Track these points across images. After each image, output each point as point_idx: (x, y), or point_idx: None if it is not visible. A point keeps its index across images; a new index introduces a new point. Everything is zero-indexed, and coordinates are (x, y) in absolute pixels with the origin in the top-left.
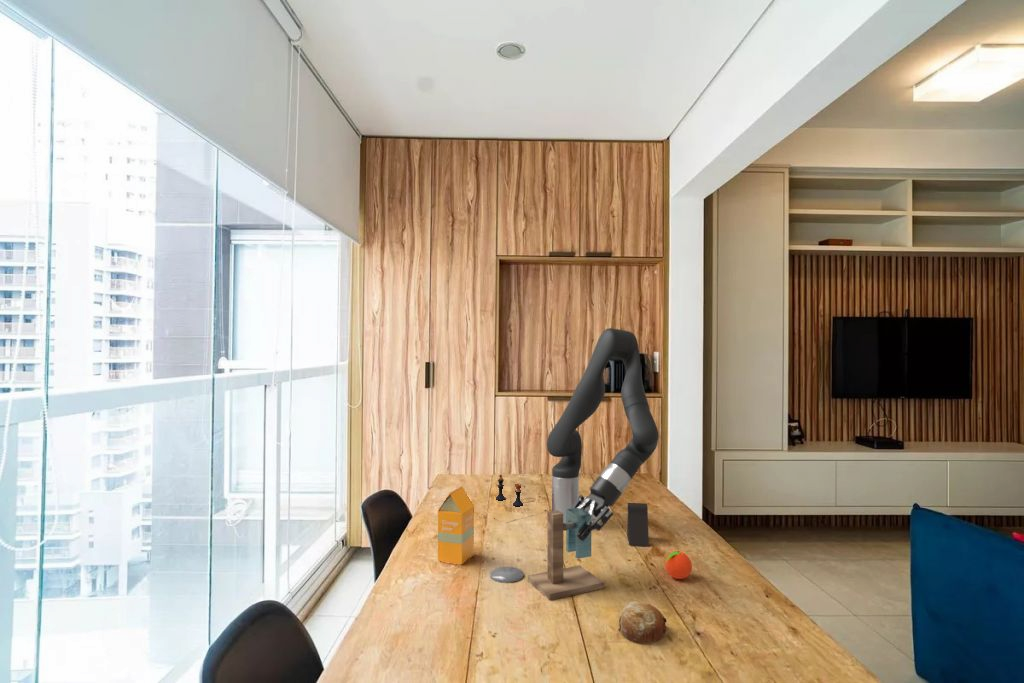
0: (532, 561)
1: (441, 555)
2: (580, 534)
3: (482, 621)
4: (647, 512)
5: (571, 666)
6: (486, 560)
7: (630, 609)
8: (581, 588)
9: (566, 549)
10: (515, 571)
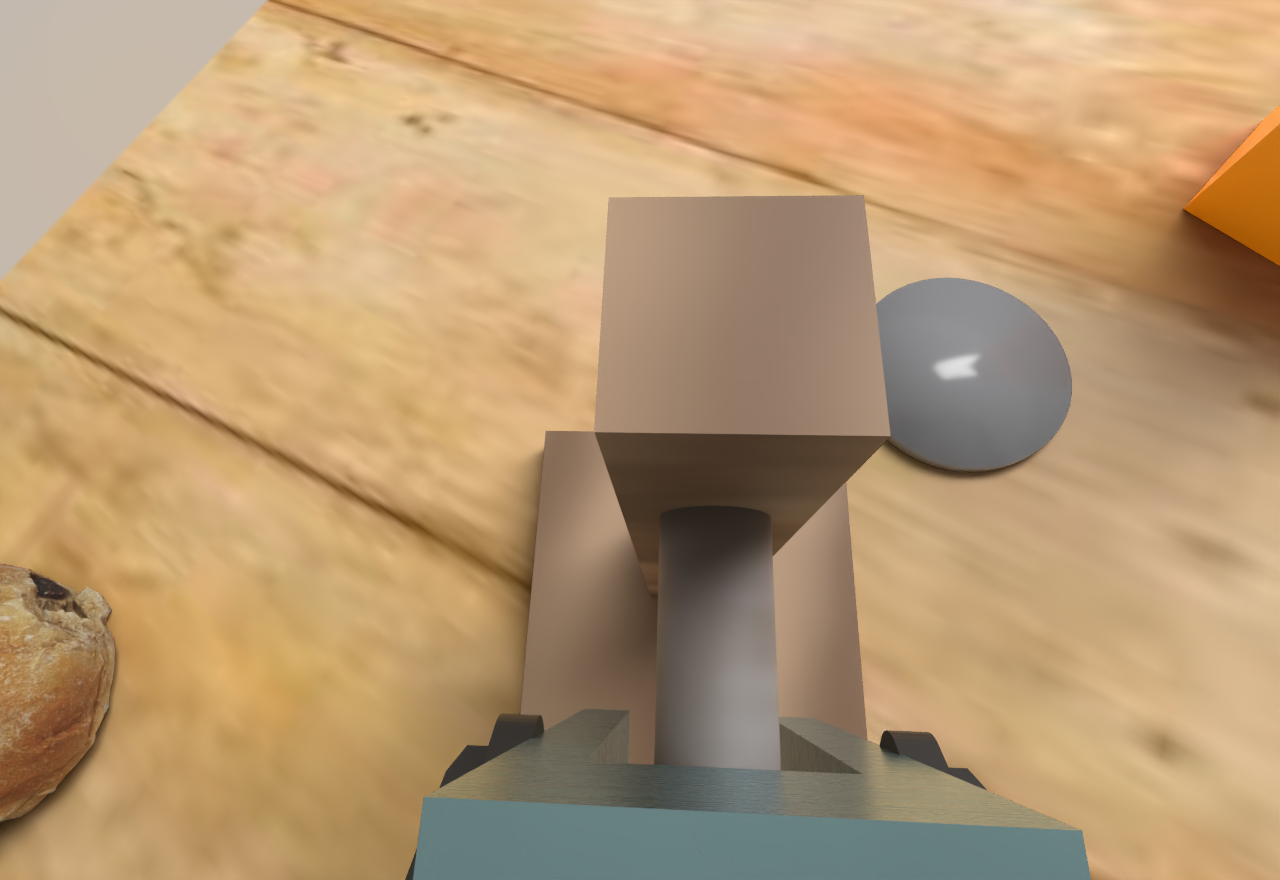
0: (1156, 634)
1: None
2: (490, 756)
3: (532, 118)
4: None
5: (67, 264)
6: (1238, 354)
7: None
8: (527, 666)
9: (812, 719)
10: (973, 424)
